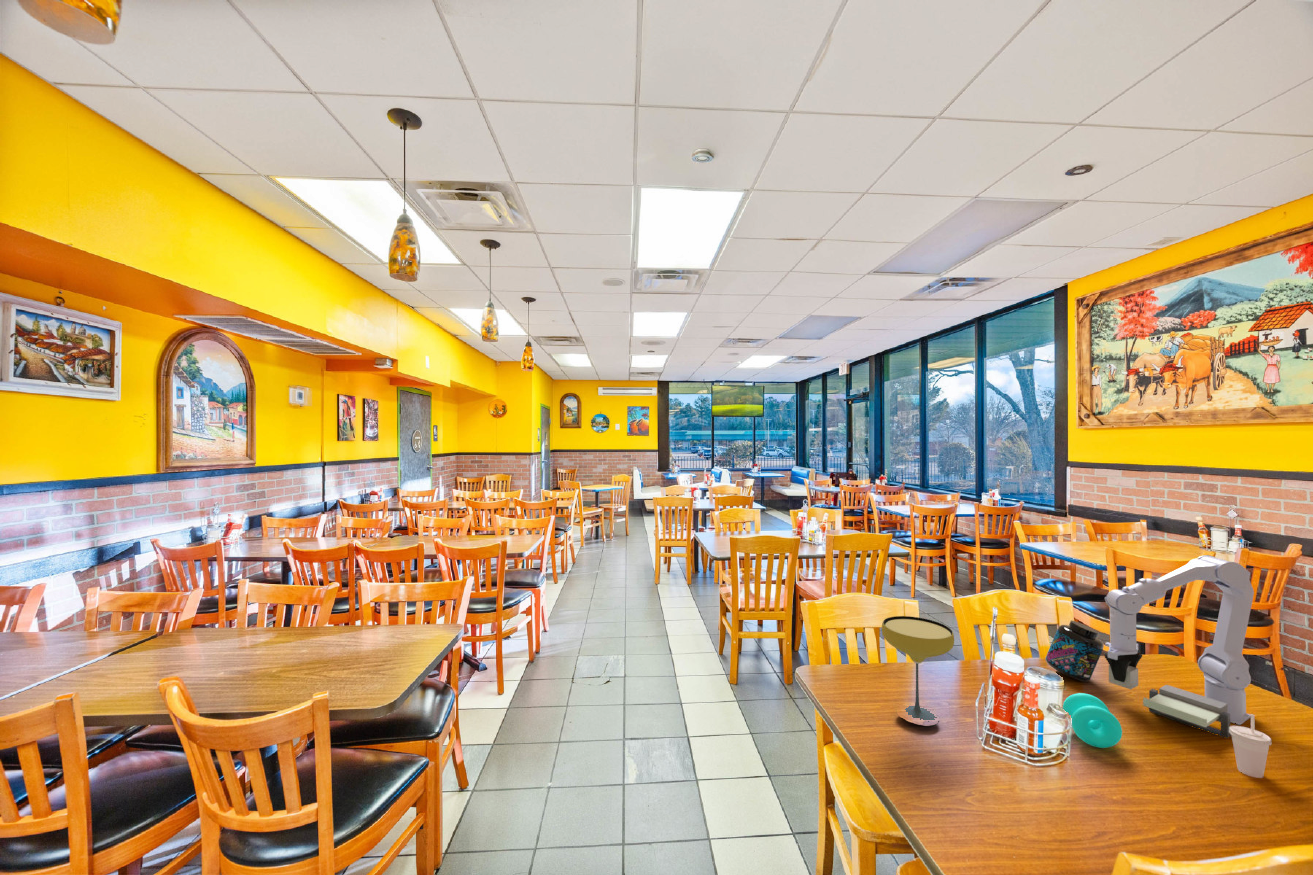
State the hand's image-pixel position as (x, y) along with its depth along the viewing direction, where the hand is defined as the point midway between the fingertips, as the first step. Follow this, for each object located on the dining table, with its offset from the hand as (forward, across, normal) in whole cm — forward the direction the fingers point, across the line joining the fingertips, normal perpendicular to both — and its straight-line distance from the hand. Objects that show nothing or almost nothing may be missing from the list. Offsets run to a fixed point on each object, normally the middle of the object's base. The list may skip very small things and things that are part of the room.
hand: (1123, 678), depth 148 cm
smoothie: (+8, +15, +28) cm, 33 cm away
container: (+8, -7, -15) cm, 18 cm away
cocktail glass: (+7, +60, -24) cm, 65 cm away
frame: (+7, -2, +13) cm, 15 cm away
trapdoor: (+2, -2, +13) cm, 13 cm away
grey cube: (+2, 0, 0) cm, 2 cm away
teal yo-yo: (+8, +30, +4) cm, 31 cm away
